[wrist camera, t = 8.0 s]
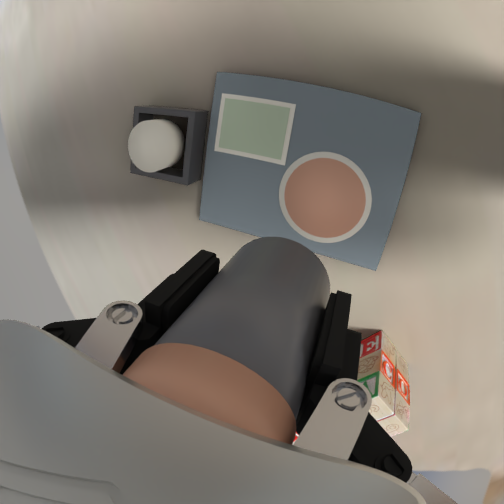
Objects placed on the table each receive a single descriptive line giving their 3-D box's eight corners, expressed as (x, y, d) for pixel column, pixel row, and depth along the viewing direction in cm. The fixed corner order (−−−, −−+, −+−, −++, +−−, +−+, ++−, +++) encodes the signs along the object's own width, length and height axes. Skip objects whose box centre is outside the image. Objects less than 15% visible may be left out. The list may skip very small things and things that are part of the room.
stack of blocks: (381, 326, 30) (377, 425, 19) (409, 363, 30) (410, 458, 20) (239, 391, 41) (201, 462, 30) (269, 417, 41) (238, 488, 31)
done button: (187, 121, 26) (172, 122, 24) (182, 171, 28) (167, 176, 26) (145, 116, 27) (129, 118, 25) (142, 163, 29) (126, 168, 27)
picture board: (419, 113, 21) (421, 113, 20) (375, 266, 28) (375, 271, 27) (221, 72, 25) (216, 71, 24) (203, 217, 31) (198, 220, 31)
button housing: (208, 110, 27) (195, 111, 25) (200, 179, 30) (187, 185, 28) (149, 105, 28) (134, 106, 26) (144, 168, 31) (130, 172, 29)
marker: (346, 253, 12) (291, 487, 4) (316, 341, 14) (249, 535, 6) (233, 221, 13) (60, 378, 5) (221, 311, 15) (105, 469, 7)
